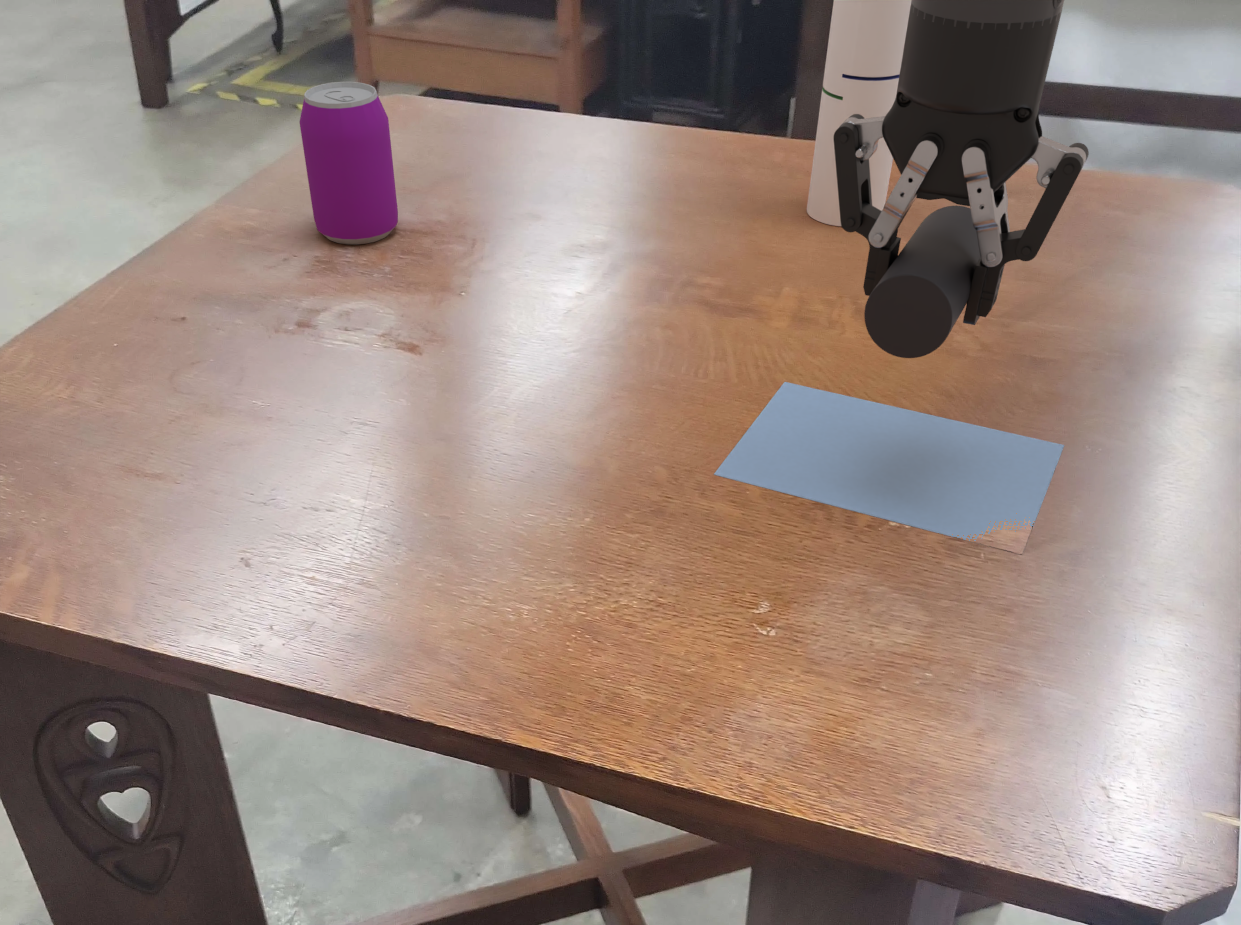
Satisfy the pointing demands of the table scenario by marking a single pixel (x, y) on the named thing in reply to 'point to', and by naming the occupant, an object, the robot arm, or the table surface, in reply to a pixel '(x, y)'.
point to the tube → (925, 285)
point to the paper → (893, 463)
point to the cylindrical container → (857, 93)
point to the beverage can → (349, 162)
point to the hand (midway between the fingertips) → (925, 309)
